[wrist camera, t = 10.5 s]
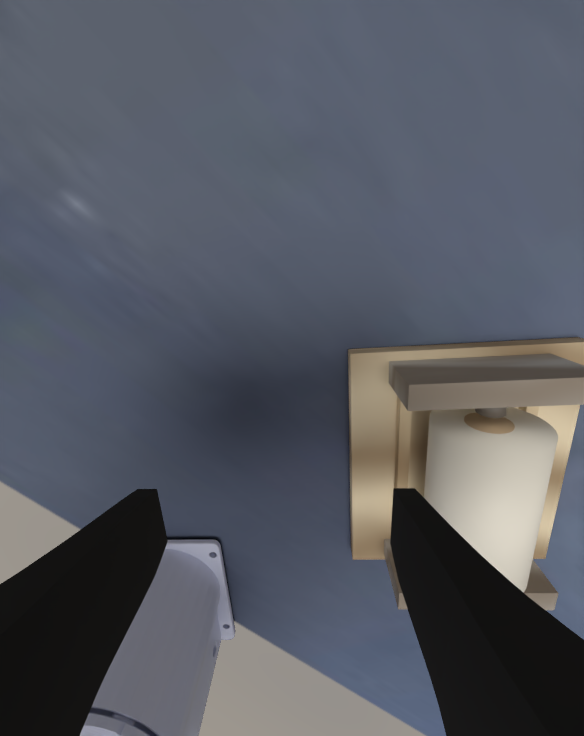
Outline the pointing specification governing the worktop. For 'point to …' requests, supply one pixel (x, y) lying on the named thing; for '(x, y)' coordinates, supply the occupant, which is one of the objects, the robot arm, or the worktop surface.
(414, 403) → the roll holder
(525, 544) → the paper roll
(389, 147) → the worktop surface
